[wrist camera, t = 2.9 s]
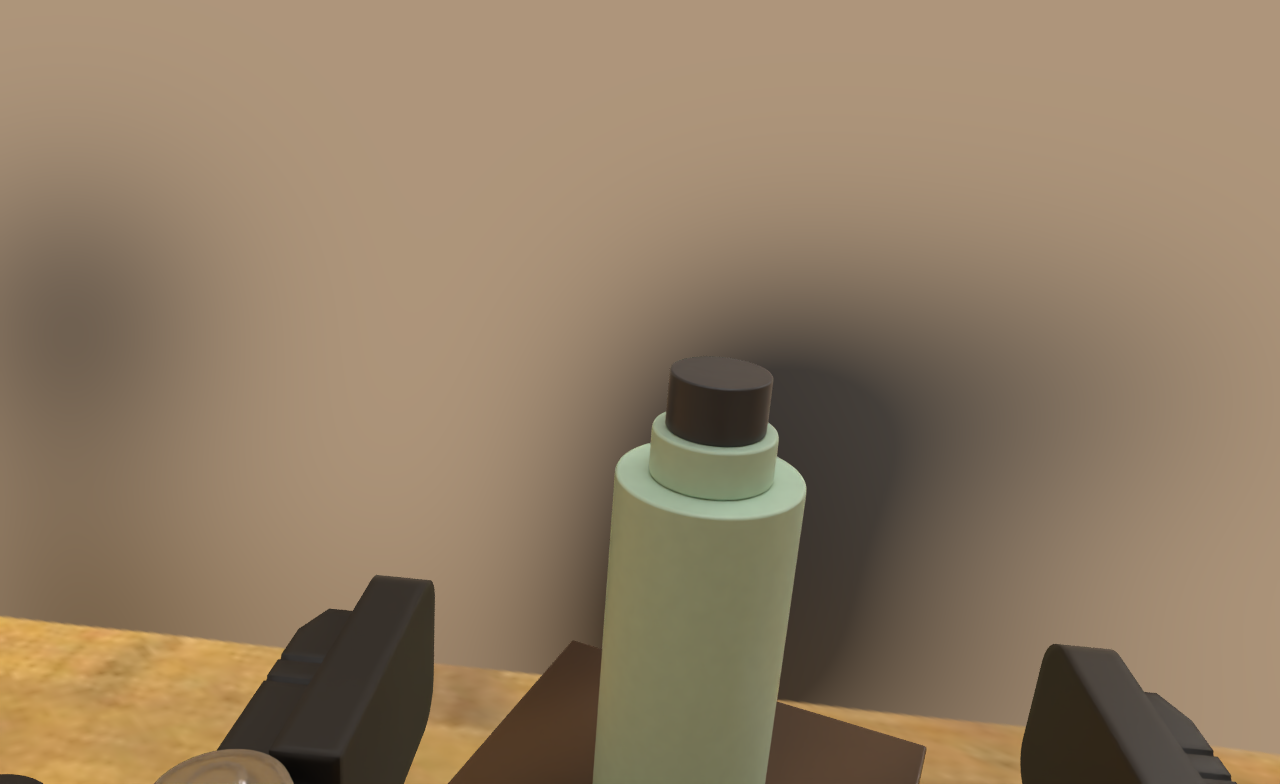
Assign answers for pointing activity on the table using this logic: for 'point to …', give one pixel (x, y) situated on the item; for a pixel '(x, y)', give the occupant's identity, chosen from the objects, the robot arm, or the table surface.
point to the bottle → (698, 586)
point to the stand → (567, 721)
